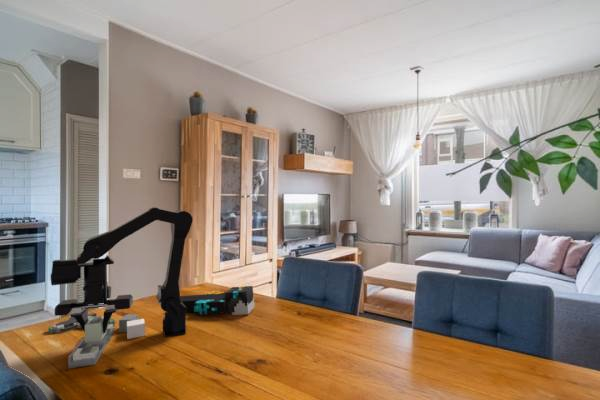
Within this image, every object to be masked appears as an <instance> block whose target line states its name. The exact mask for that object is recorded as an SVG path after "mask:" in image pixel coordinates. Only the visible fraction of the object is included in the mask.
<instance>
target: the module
mask: <svg viewBox="0 0 600 400" xmlns="http://www.w3.org/2000/svg"><path fill="white" fill-rule="evenodd" d="M103 318H104V315H103V316H102V315H101V316H97V317H93V318H90V320H89V321H88V322H87V323H86V324H85V332H84V336H85V343H87V342H95V341H101V340H102V339H103V337H104V336H105V334H106V332H105V333H103Z"/></svg>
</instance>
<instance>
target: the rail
mask: <svg viewBox="0 0 600 400" xmlns="http://www.w3.org/2000/svg"><path fill="white" fill-rule="evenodd" d="M114 333H115V327H113V324H108V327H107V330H106V334H105V336H104V337H103V339H102V340H101V341H95V342H87V343H85V335H84V336H83V337H82V339H81V340H80V341H79V342H78V344H77V345H76V346H75V347H74V348H73V350H72V351H71V353H70V354H69V355H68V357H67V358H68V359H67V364H68V367H67V368H68V369H74V368H80V367H88V366H95V365H96V364H97V362H98V361H99V358H100V357H101V356H102V354H103V352H104V350H105V349H106V348H107V345H108V344H109V342H110V340H111V338H112V337H113V335H114Z"/></svg>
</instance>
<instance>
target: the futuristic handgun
mask: <svg viewBox="0 0 600 400" xmlns="http://www.w3.org/2000/svg"><path fill="white" fill-rule="evenodd" d="M93 317H98V316H97V313H96V312H92V313H88V321H89V320H90V318H93ZM109 324H113V328H115V326H116V319H115V318H110V321H109ZM80 328H82V327H81V325H80V324H79V323H78V321H77V320H76V319H75V318H74V317H71V316H69V317H68V319H67V320H64V321H59V322H57V323H55V324H52V325H48V329H47V331H48V333H49V334H50V335H54V334H56V333H58V334H60V333H66V332H68V331H72V330H75V329H80Z"/></svg>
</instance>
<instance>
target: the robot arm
mask: <svg viewBox="0 0 600 400" xmlns="http://www.w3.org/2000/svg"><path fill="white" fill-rule="evenodd" d="M155 221H159V222H165V223H168V224H170V232H171V233H170V234H171V241H170V249H169V254H168V261H167V267H166V274H165V279H164V281H163V284H162V285H161V284H160V285H159V284H158V285H157V294H156V296H155V298H156V300H157V302H158V305H159V306H160V308H161V310H163V311H164V312H165V313H164V317H163V318H162V333H164V334H163V337H171V336H178V335H186V333H187V325H186V324H187V323H186V315H187V313H188V312H187V308H186V307H185V305H184V304H183V303H182V302H181V301H180V296H181V293H180V292H181V291H180V283H179V281H180V276H181V269H182V263H183V261H182V260H183V255H184V250H185V242H186V239H187V236H188V234H189V232H190V230H191V228H192V227H191V226H192V225H193V216H192V214H191V213H190V212H188V211H184V210H176V211H170V210H164V209H161V208H158V207H154V206H153V207H149V208H148V209H147V210H146V211H144V212H143V213H141V214H138V215H137V216H135V217H133V218H132V219H130V220H129V221H126V222H125V223H122V224H121V225H119V226H117V227H116V228H114V229H112V230H110V231H109V230H108V231H105V232H103V233H99V234H97V235H95V236H94V235H93V236H91V237H89V238H88V239H87V240H86V241H85V243H84V245H83V248H82V249H83V250H82V251H81V252H80V254H78V255H77V258H76V259H75V258H74V259H63V260H62V259H55V260H53V261H52V267H51V273H50V284H51V286H60V285H69V284H70V285H71V284H76V283H77V281H79V280H81V279H82V268H83V287H82V291H83V301H82V302H81V301H78V299H77V298H74V299H63V300H62V301H60V302H59V303H58V304H57V305H55V307H54V316H56V317H57V316H67V315H69V314H70V312H71V314H70V316H71V317H74V318H75V319H76V320H77V321H78V323H79V324H80V325H81V327H80V328H81V329H82V331H83V332H84V333H85V324H86V323H87V322H88V314H89V313H88V312H89V309H95V308H97V309H98V308H106V309H105V310H104V312H103V316H104V318H103V333H105V332H106V330H107V327H108V324H109V321H110V319H112V316H113V314H115V313H116V312H117V311H118V310H129V309H130V308H131V307H132V305H133V303H134V297H133V295H132V294H121V295H117V297H116V298H115V299H114V298H113V299H109V298H111V297H112V296H111V295H112V287H111V286H109V284H108V273H107V272H108V265H114V263H115V261H114V259H112V258H111V257H110V256H109V255H106V256H105V257H104V258H101V257H103V256H104V255H105V254H107V253H108V252H109V251H110V250H112V249H113V248H114V247H115V246H116V245H117V244H119V242H121V241H122V240H125V238H127V237H129V236H131V235H132V234H134V233H136V232H138V231H139V230H141V229H143V228H145V227H147V226H148V225H151V224H152V223H153V222H155ZM92 259H93V260H92ZM90 260H92V262H89V261H90Z"/></svg>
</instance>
